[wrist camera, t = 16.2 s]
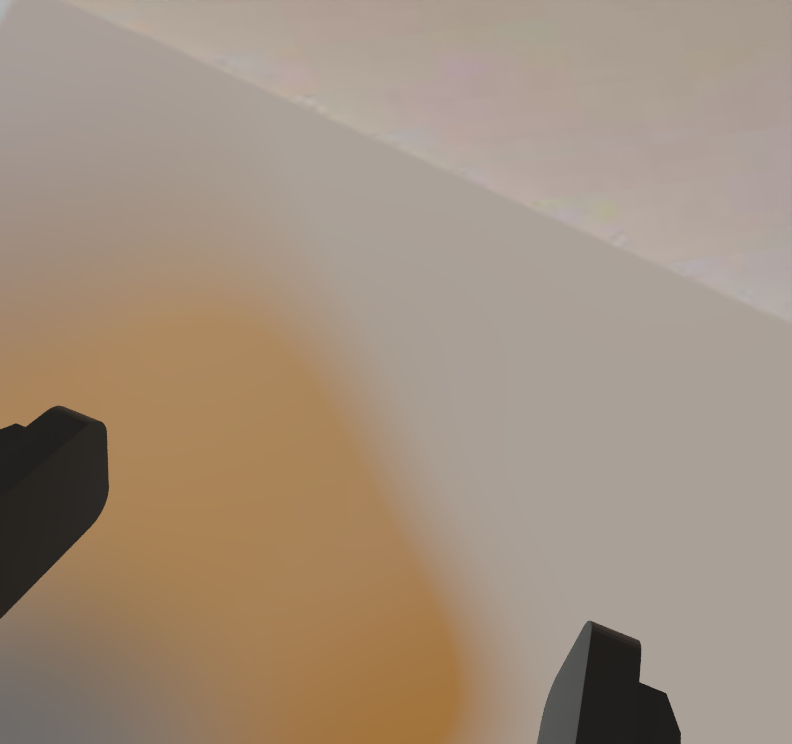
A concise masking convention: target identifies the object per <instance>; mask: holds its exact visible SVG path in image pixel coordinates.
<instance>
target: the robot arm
mask: <svg viewBox="0 0 792 744" xmlns="http://www.w3.org/2000/svg"><path fill="white" fill-rule="evenodd" d="M108 491H109V482H108V454H107V430H106V427H105V425H104V424H103V423H102V422H101V421H98V420H95V419H93V418H90V417H88V416H86V415H83V414H81V413H78V412H76V411H73V410H71V409H68V408H66V407H63V406H55V407H53V408H50V409H49V410H47V411H46V412H45V413H43V414H42V415H41V416H39V417H38V418H37V419H36V420H34V421H33V422H32V423H30V424H29V425H28V426H26V427H23V426H21V425H19V424H13V425H11V426H8V427H6V428H3V429H0V618H2V617H3V616H4V615H5V614H6V613H7V612H8V610H9V609H10V608H11V607H12V606H13V605H14V604H15V603H16V602H17V601H18V600H19V599H20V598H21V597H22V596H23V595H24V594H25V593H26V592H27V591H28V590H29V589H30V588H31V587H32V586H33V585H34V584H35V583H36V582H37V581H38V580H39V579H40V578H41V577H42V576H43V575H44V574H45V573H46V572H47V571H48V570H49V569H50V568H51V567H52V566H53V565H54V564H55V563H56V562H57V561H58V560H59V559H60V557H62V555H63V554H64V553H65V552H66V551H67V550H68V549H69V548H70V547H71V546H72V545H73V544H74V543H75V542H76V541H77V540H78V539H79V538H80V537H81V536H82V535H83V534H84V533H85V532H86V531H87V530H88V529H89V528H90V527H91V526H92V524H93V523H94V522H95V521H96V520H97V518H98V517H99V515H100V514H101V512H102V510H103V507H104V506H105V503H106V500H107V496H108ZM640 663H641V644H640V641H639V640H637V639H634V638H632V637H629V636H627V635H624V634H622V633H619V632H617V631H614V630H611V629H609V628H607V627H604V626H602V625H599V624H597V623H595V622H592V621H588V622H587V623H586V624H585V626H584V627H583V629H582V631H581V633H580V634H579V636H578V638H577V640H576V642H575V644H574V645H573V647H572V649H571V651H570V653H569V655H568V656H567V658H566V660H565V662H564V663H563V665H562V667H561V669H560V671H559V673H558V674H557V676H556V678H555V680H554V683H553V685H552V687H551V690H550V693H549V695H548V698H547V701H546V705H545V708H544V712H543V716H542V721H541V726H540V731H539V736H538V742H537V744H681V733H680V730H679V727H678V725H677V722H676V719H675V716H674V713H673V710H672V708H671V705H670V702H669V700H668V697H667V694H666V693H664V692H662V691H659V690H657V689H654V688H652V687H649V686H647V685H645V684H642V683H640V682H639V677H640Z"/></svg>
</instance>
